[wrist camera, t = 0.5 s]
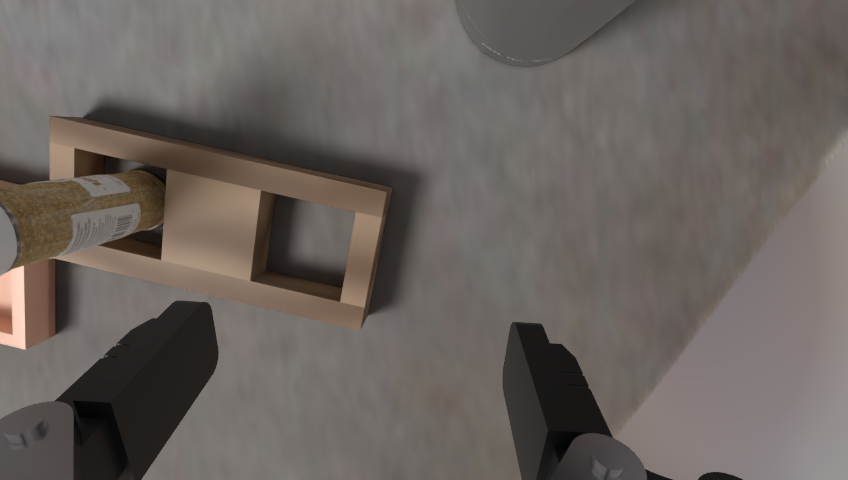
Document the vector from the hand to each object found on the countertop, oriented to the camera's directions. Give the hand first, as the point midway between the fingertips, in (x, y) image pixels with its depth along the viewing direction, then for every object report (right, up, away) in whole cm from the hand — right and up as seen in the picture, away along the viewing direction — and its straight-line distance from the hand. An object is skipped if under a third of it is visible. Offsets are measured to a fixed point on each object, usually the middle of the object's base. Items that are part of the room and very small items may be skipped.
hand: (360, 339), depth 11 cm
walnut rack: (-13, +4, +20) cm, 24 cm away
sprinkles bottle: (-19, +6, +21) cm, 29 cm away
